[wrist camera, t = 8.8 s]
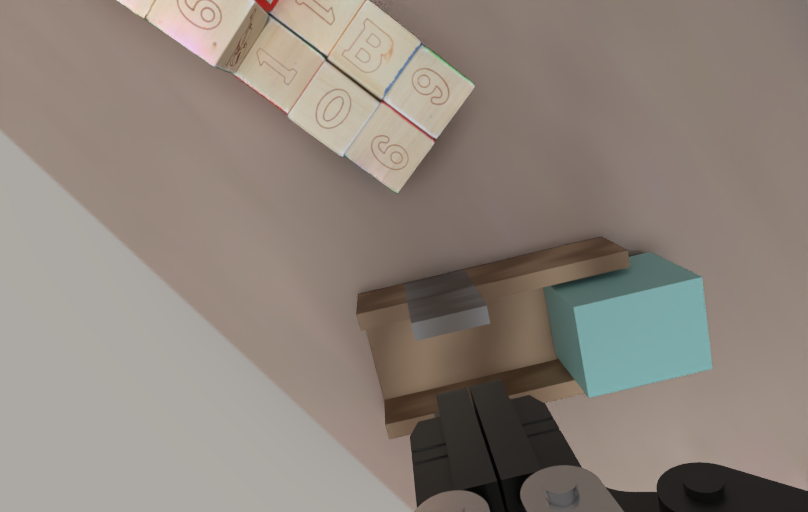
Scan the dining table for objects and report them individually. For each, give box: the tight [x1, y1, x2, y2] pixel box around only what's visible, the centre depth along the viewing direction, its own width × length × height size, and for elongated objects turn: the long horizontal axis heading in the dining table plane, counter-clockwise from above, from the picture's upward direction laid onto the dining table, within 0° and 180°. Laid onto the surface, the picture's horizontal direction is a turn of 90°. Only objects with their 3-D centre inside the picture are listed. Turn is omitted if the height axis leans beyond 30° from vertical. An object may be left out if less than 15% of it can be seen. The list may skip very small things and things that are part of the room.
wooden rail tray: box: [356, 237, 630, 439], centre depth 35 cm, size 16×8×8 cm, turn 103°
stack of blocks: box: [116, 0, 475, 194], centre depth 28 cm, size 21×6×12 cm, turn 53°
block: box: [543, 252, 712, 398], centre depth 35 cm, size 7×5×6 cm
